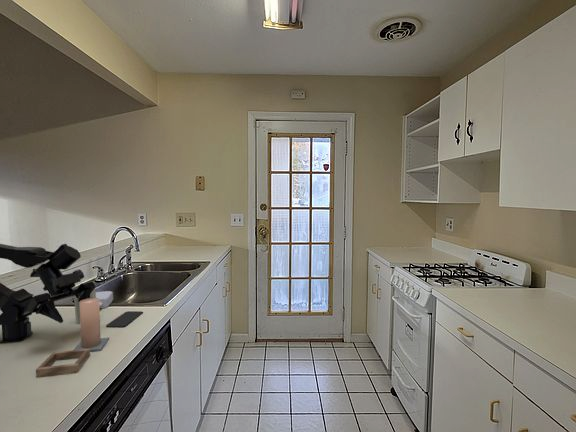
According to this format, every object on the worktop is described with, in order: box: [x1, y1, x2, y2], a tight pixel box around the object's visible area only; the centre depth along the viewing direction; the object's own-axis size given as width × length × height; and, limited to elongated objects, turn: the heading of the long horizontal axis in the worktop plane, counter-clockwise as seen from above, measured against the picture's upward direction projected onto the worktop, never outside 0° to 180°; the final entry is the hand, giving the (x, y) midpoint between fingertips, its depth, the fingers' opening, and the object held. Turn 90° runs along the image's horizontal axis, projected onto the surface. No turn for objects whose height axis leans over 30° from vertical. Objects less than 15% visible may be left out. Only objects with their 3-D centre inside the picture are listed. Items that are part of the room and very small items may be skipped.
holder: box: [35, 349, 91, 378], centre depth 88 cm, size 10×10×2 cm
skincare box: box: [73, 288, 97, 325], centre depth 119 cm, size 6×4×12 cm
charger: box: [96, 290, 114, 309], centre depth 134 cm, size 5×9×15 cm
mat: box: [72, 337, 110, 353], centre depth 100 cm, size 8×8×1 cm
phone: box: [105, 310, 144, 329], centre depth 121 cm, size 7×1×15 cm
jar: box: [79, 298, 102, 348], centre depth 99 cm, size 5×5×14 cm
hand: (77, 316), depth 101 cm, fingers open, 9 cm apart
